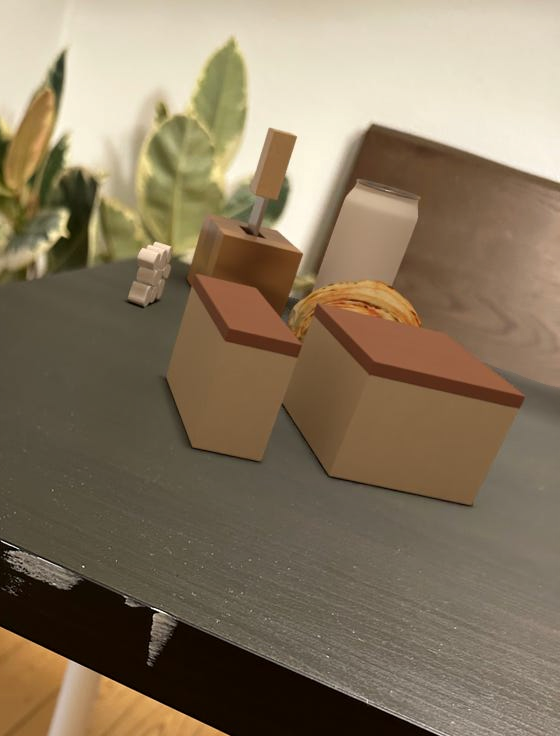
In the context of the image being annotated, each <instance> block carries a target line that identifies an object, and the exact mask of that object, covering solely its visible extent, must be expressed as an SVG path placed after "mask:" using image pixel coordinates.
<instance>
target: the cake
mask: <svg viewBox="0 0 560 736" xmlns="http://www.w3.org/2000/svg"><path fill="white" fill-rule="evenodd" d="M525 399H526V395H525V394H523V393H522V392H521V391H520V390H518V389H517V388H516V387H515V386H513V385H512V384H511V383H510V382H508V381H507V380H506V379H504V378H503V377H502V376H500V375H499V374H498V373H496V372H495V371H494V370H492V368H490V367H489V366H487V365H486V364H485V363H484V362H482V361H481V360H480V359H479V358H477V357H476V356H475V355H474V354H472V353H471V352H470V351H468V350H467V349H466V348H464V347H463V346H462V345H461V344H459V343H458V342H457V341H456V340H454V339H453V338H452V337H451V336H449V335H448V334H446V332H441V331H438V330H434V329H433V330H432V329H430V328H429V329H428V328H424V327H422V326H421V327H417V326H412V325H408V324H404V323H400V322H396V321H392V320H387V319H383V318H379V317H375V316H371V315H367V314H362V313H358V312H354V311H350V310H346V309H342V308H337V307H333V306H329V305H325V304H321V303H317V305H316V308H315V310H314V313H313V316H312V319H311V322H310V325H309V328H308V330H307V333H306V336H305V339H304V342H303V345H302V347H301V350H300V353H299V356H298V359H297V361H296V364H295V367H294V370H293V373H292V376H291V378H290V381H289V384H288V387H287V390H286V392H285V395H284V398H283V401H282V405H283V407H284V408H285V410H286V411H287V413H288V414H289V417H291V419H292V421H293V422H294V424H295V425H296V427H297V428H298V430H299V431H300V433H301V435H302V436H303V438H304V440H305V441H306V442H307V444H308V446H309V447H310V448H311V450H312V451H313V454H314V455H315V457H316V458H317V459H318V461H319V462H320V464H321V466H322V467H323V469H324V470H325V472H326V473H327V476H329V477H332V478H337V479H342V480H346V481H347V480H348V481H352V482H356V483H361V484H366V485H370V486H376V487H380V488H386V489H390V490H394V491H399V492H403V493H408V494H414V495H418V496H424V497H428V498H432V499H433V498H434V499H438V500H443V501H447V502H453V503H457V504H463V505H466V506H472V505H473V503H474V501H475V500H476V497H477V496H478V493H479V491H480V489H481V487H482V485H483V483H484V481H485V480H486V477H487V475H488V473H489V471H490V469H491V467H492V465H493V464H494V461H495V460H496V456H497V455H498V453H499V451H500V449H501V447H502V445H503V443H504V441H505V439H506V436H507V435H508V433H509V430H510V429H511V427H512V424H513V423H514V420H515V418H516V417H517V414H518V412H519V411H520V409H521V407H522V405H523V403H524V401H525Z"/></svg>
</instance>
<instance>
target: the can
mask: <svg viewBox="0 0 560 736" xmlns="http://www.w3.org/2000/svg"><path fill="white" fill-rule="evenodd" d="M421 199H422V198H421V196H419V195H416V194H414V193H412V192H409V191H405V190H403V189H401V188H400V189H399V188H396V187H393V186H389V185H386V184H382V183H378V182H374V181H372V180H371V181H370V180H366V179H361V178H357V179H356V183H355V185H354V187H353V188H352V189H351V190H350V191H349V192H348V194H347V195H346V196H345V198H344V200H343V203H342V206H341V207H340V211H339V214H338V216H337V220H336V222H335V225H334V227H333V231H332V233H331V236H330V239H329V243H328V245H327V247H326V250H325V253H324V256H323V259H322V262H321V264H320V268H319V270H318V273H317V276H316V279H315V281H314V284H313V288H312V290H311V293H312V292H314V291H316V290H318V289H320V288H322V287H325V286H326V285H329V284H335V283H339V282H344V281H348V282H357V281H359V280H362V279H364V280H370V281H374V280H376V281H380V282H383V283H385V284H387V285H388V286H391V287H393V284H394V283H395V282H394V281H395V279H396V277H397V274H398V271H399V270H400V266H401V264H402V261H403V259H404V256H405V254H406V251H407V248H408V246H409V244H410V241H411V238H412V236H413V233H414V230H415V228H416V225H417V222H418V219H419V210H418V209H419V201H420V200H421Z"/></svg>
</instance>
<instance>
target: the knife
mask: <svg viewBox="0 0 560 736" xmlns="http://www.w3.org/2000/svg"><path fill="white" fill-rule="evenodd" d="M297 138H298V136H297V135H296V134H293V133H291V132H288V131H284V130H281V129H277V128H273V127H268V129H267V133H266V134H265V139H264V142H263V145H262V148H261V152H260V155H259V159H258V162H257V166H256V169H255V172H254V175H253V179H252V181H251V184H250V185H251V186H250V189H249V191H250V192H251V193H252V194H254V195H255V200H254V204H253V207H252V210H251V212H250V216H249V220H248V222H247V223H248V226H247V230H246V234H248V235H252V236H256V237H257V236H258V233H259V230H260V226H261V227H262V223H263V219H264V217H265V213H266V211H267V207H268V204H269V201H270V200H272V201H278V199H279V196H280V193H281V190H282V187H283V184H284V180H285V177H286V174H287V171H288V168H289V164H290V161H291V158H292V155H293V152H294V149H295V145H296V142H297Z"/></svg>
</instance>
